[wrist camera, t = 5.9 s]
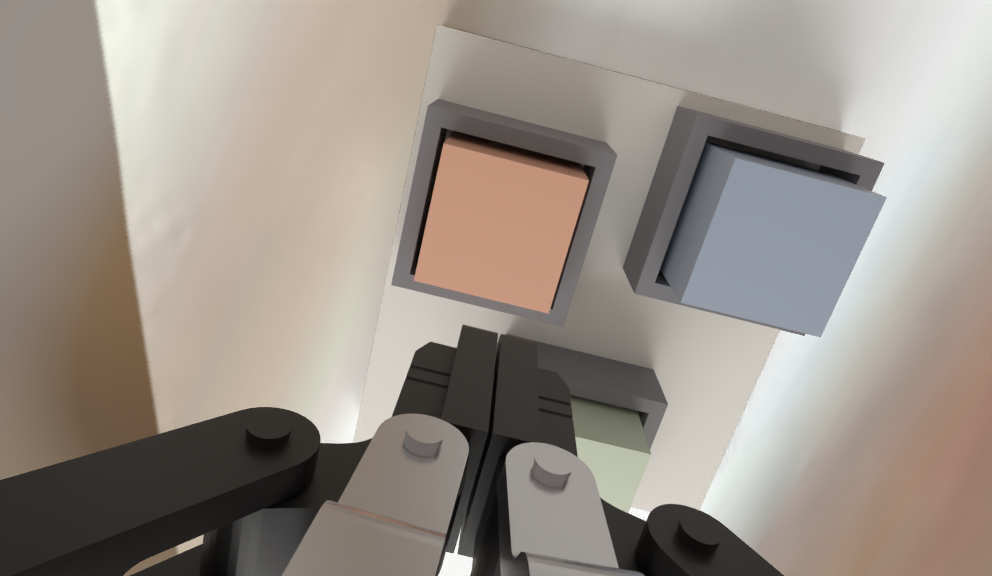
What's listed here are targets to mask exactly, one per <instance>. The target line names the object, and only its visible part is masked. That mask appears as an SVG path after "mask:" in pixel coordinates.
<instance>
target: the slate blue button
mask: <svg viewBox="0 0 992 576" xmlns="http://www.w3.org/2000/svg"><path fill="white" fill-rule="evenodd" d="M886 198H887V197H884V196H882V195H879V194H877V193H875V192H872V191H870V190H867V189H865V188H863V187H860V186H858V185H856V184H853V183H851V182H848V181H846V180H844V179H841V178H839V177H836V176H834V175H832V174H829V173H825V172H821V171H817V170H814V169H810V168H806V167H802V166H798V165H795V164H791V163H787V162H783V161H779V160H776V159H772V158H768V157H764V156H760V155H757V154H753V153H749V152H745V151H741V150H738V149H734V148H730V147H726V146H722V145H718V144H715V143H711V142H707V141H706V142H705V145H704V148H703V151H702V153H701V156H700V159H699V162H698V164H697V167H696V170H695V173H694V176H693V178H692V181H691V184H690V187H689V189H688V192H687V195H686V198H685V201H684V203H683V206H682V209H681V212H680V214H679V217H678V220H677V223H676V226H675V228H674V231H673V234H672V237H671V239H670V242H669V245H668V248H667V251H666V253H665V256H664V259H663V262H662V264H661V267H660V270H661V272H662V273H663V275H664V277H665V278H666V280H667V281H668V283H669V285H670V286H671V288H672V289H673V291H674V293H675V294H676V296H677V297H678V299H679V301H680V302H681V303H684V304H688V305H692V306H696V307H701V308H705V309H709V310H713V311H717V312H721V313H725V314H729V315H733V316H737V317H741V318H745V319H749V320H753V321H757V322H761V323H765V324H769V325H773V326H777V327H781V328H785V329H789V330H793V331H797V332H801V333H805V334H810V335H814V336H818V337H821V335H822V333H823V331H824V329H825V327H826V324H827V322H828V320H829V318H830V316H831V314H832V312H833V310H834V308H835V305H836V303H837V301H838V299H839V297H840V295H841V293H842V291H843V289H844V286H845V284H846V282H847V280H848V278H849V276H850V274H851V272H852V270H853V267H854V265H855V263H856V261H857V259H858V257H859V255H860V253H861V251H862V248H863V246H864V244H865V242H866V240H867V238H868V236H869V234H870V231H871V229H872V227H873V225H874V223H875V221H876V219H877V217H878V215H879V212H880V210H881V208H882V206H883V204H884V202H885V200H886Z"/></svg>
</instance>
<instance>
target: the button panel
mask: <svg viewBox="0 0 992 576" xmlns="http://www.w3.org/2000/svg"><path fill="white" fill-rule="evenodd" d="M453 131H457V132H461V133H465V134H469V135H473V136H477V137H480V138H484V139H488V140H492V141H496V142H500V143H504V144H508V145H511V146H515V147H519V148H523V149H527V150H531V151H535V152H539V153H543V154H546V155H550V156H554V157H558V158H562V159H566V160H570V161H574V162H577V163H580V164H581V166H582V168H583V170H584V172H585V174H586V176H587V178H588V180H589V182H588V185H587V189H586V192H585V195H584V199H583V202H582V205H581V209H580V212H579V215H578V218H577V222H576V225H575V228H574V232H573V235H572V238H571V242H570V245H569V248H568V252H567V255H566V258H565V261H564V265H563V268H562V271H561V275H560V278H559V281H558V285H557V288H556V291H555V294H554V298H553V301H552V304H551V308H550V311H549V314H548V313H544V312H540V311H536V310H532V309H527V308H523V307H519V306H515V305H511V304H507V303H503V302H499V301H495V300H491V299H486V298H482V297H478V296H474V295H470V294H466V293H462V292H458V291H454V290H450V289H445V288H441V287H437V286H433V285H429V284H425V283H421V282H417V281H414V277H415V273H416V268H417V264H418V259H419V254H420V250H421V245H422V240H423V236H424V231H425V227H426V222H427V217H428V213H429V208H430V204H431V199H432V194H433V190H434V185H435V181H436V176H437V171H438V167H439V162H440V158H441V153H442V148H443V144H444V142H445V141H446V139H447V138H448V137H449V136H450V134H451V133H452V132H453ZM864 140H865V138H861V137H858V136H854V135H850V134H847V133H843V132H839V131H836V130H832V129H828V128H824V127H821V126H817V125H813V124H809V123H806V122H802V121H798V120H794V119H791V118H787V117H783V116H779V115H776V114H772V113H768V112H764V111H761V110H757V109H753V108H749V107H746V106H742V105H738V104H734V103H731V102H727V101H723V100H719V99H716V98H712V97H708V96H704V95H701V94H697V93H693V92H689V91H685V90H682V89H678V88H674V87H670V86H667V85H663V84H659V83H655V82H652V81H648V80H644V79H640V78H637V77H633V76H629V75H625V74H622V73H618V72H614V71H610V70H607V69H603V68H599V67H595V66H592V65H588V64H584V63H580V62H577V61H573V60H569V59H565V58H562V57H558V56H554V55H550V54H547V53H543V52H539V51H535V50H532V49H528V48H524V47H520V46H517V45H513V44H509V43H505V42H502V41H498V40H494V39H490V38H487V37H483V36H479V35H475V34H472V33H468V32H464V31H460V30H457V29H453V28H449V27H445V26H441V25H437V27H436V32H435V37H434V42H433V47H432V52H431V57H430V62H429V67H428V72H427V77H426V82H425V87H424V92H423V97H422V102H421V107H420V112H419V117H418V122H417V127H416V132H415V137H414V142H413V147H412V152H411V157H410V162H409V167H408V172H407V177H406V181H405V186H404V191H403V196H402V201H401V206H400V211H399V216H398V221H397V226H396V231H395V236H394V241H393V246H392V251H391V256H390V261H389V266H388V271H387V276H386V281H385V286H384V291H383V296H382V301H381V306H380V311H379V316H378V321H377V326H376V331H375V336H374V341H373V346H372V351H371V356H370V361H369V366H368V371H367V376H366V381H365V386H364V391H363V396H362V401H361V406H360V411H359V416H358V421H357V426H356V431H355V436H354V441H353V443H356V442H361V441H365V440H368V439H371V438H373V436H374V434H375V433H376V431H377V429H378V427H379V426H380V425H381V423H383V422H384V421H385V420H387V419H389V418H391V417H392V414H393V411H394V409H395V406H396V403H397V400H398V398H399V395H400V392H401V389H402V387H403V384H404V381H405V379H406V376H407V373H408V370H409V367H410V365H411V362H412V359H413V356H414V354H415V351H416V350H418V349H419V348H421V347H423V346H424V345H426V344H427V343H429V342H434V343H439V344H443V345H447V346H451V347H455V348H457V344H458V340H459V336H460V332H461V328H462V325H467V326H471V327H475V328H480V329H484V330H488V331H492V332H496V333H498V339H499V337H500V334H504V335H508V336H512V337H517V338H521V339H525V340H529V341H533V342H536V343H537V363H538V368H541V369H545V370H549V371H554V372H557V373H558V374H559V375H560V377H561V378H562V379H563V381H564V382H565V383H566V385H567V386H568V387H569V390H570V395H573V396H577V397H581V398H586V399H590V400H594V401H598V402H603V403H607V404H611V405H615V406H619V407H624V408H628V409H632V410H636V411H637V412H638V415H639V418H640V421H641V424H642V427H643V430H644V433H645V436H646V440H647V443H648V446H649V449H650V452H651V456H650V459H649V461H648V464H647V466H646V469H645V471H644V474H643V476H642V479H641V481H640V484H639V487H638V489H637V492H636V494H635V497H634V499H633V502H632V504H631V507H633V508H637V509H642V510H646V511H650V512H651V511H652V510H653V509H654V508H656V507H658V506H660V505H664V504H680V505H685V506H688V507H692V508H695V509H697V510H700V508H701V505H702V503H703V501H704V499H705V496H706V494H707V492H708V490H709V487H710V485H711V483H712V481H713V478H714V476H715V474H716V472H717V470H718V467H719V465H720V463H721V461H722V458H723V456H724V454H725V452H726V449H727V447H728V445H729V443H730V440H731V438H732V436H733V434H734V431H735V429H736V427H737V425H738V422H739V420H740V418H741V416H742V414H743V411H744V409H745V407H746V405H747V402H748V400H749V398H750V396H751V393H752V391H753V389H754V387H755V384H756V382H757V380H758V378H759V375H760V373H761V371H762V369H763V366H764V364H765V362H766V360H767V357H768V355H769V353H770V351H771V349H772V346H773V344H774V342H775V340H776V337H777V335H778V333H779V331H780V330H783V331H787V332H791V333H795V334H799V335H803V336H805V333H801V332H797V331H793V330H789V329H785V328H781V327H777V326H773V325H769V324H765V323H761V322H757V321H753V320H749V319H745V318H741V317H737V316H733V315H729V314H725V313H721V312H717V311H713V310H709V309H705V308H701V307H696V306H692V305H688V304H684V303H681V302H680V301H679V299H678V297H677V296H676V294H675V293H674V291H673V289H672V288H671V286H670V285H669V283H668V281H667V280H666V278H665V277H664V275H663V273H662V272H661V270H660V267H661V264H662V262H663V259H664V256H665V253H666V251H667V248H668V245H669V242H670V239H671V237H672V234H673V231H674V228H675V226H676V223H677V220H678V217H679V214H680V212H681V209H682V206H683V203H684V201H685V198H686V195H687V192H688V189H689V187H690V184H691V181H692V178H693V176H694V173H695V170H696V167H697V164H698V162H699V159H700V156H701V153H702V151H703V148H704V145H705V142H706V141H707V142H711V143H715V144H718V145H722V146H726V147H730V148H734V149H738V150H741V151H745V152H749V153H753V154H757V155H760V156H764V157H768V158H772V159H776V160H779V161H783V162H787V163H791V164H795V165H798V166H802V167H806V168H810V169H814V170H817V171H821V172H825V173H829V174H832V175H834V176H836V177H839V178H841V179H844V180H846V181H848V182H851V183H853V184H856V185H858V186H860V187H863V188H865V189H867V190H870V191H872V189H873V187H874V185H875V182H876V180H877V178H878V176H879V174H880V172H881V170H882V167H883V165H884V163H883V162H880V161H876V160H873V159H870V158H867V157H864V156H861V155H858V154H859V151H860V149H861V147H862V145H863V142H864ZM497 343H498V340H497Z"/></svg>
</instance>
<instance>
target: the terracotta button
mask: <svg viewBox="0 0 992 576" xmlns="http://www.w3.org/2000/svg"><path fill="white" fill-rule="evenodd" d="M588 182H589V180H588V178H587V176H586V174H585V172H584V170H583V168H582V166H581V164H580V163H577V162H574V161H570V160H566V159H562V158H558V157H554V156H550V155H546V154H543V153H539V152H535V151H531V150H527V149H523V148H519V147H515V146H511V145H508V144H504V143H500V142H496V141H492V140H488V139H484V138H480V137H477V136H473V135H469V134H465V133H461V132H457V131H453V132H452V133H451V134H450V136H449V137H448V138H447V139H446V141H445V142H444V144H443V148H442V153H441V158H440V162H439V167H438V171H437V176H436V181H435V185H434V190H433V194H432V199H431V204H430V208H429V213H428V217H427V222H426V227H425V231H424V236H423V240H422V245H421V250H420V254H419V259H418V264H417V268H416V273H415V277H414V281H417V282H421V283H425V284H429V285H433V286H437V287H441V288H445V289H450V290H454V291H458V292H462V293H466V294H470V295H474V296H478V297H482V298H486V299H491V300H495V301H499V302H503V303H507V304H511V305H515V306H519V307H523V308H527V309H532V310H536V311H540V312H544V313H548V314H549V311H550V308H551V304H552V301H553V298H554V294H555V291H556V288H557V285H558V281H559V278H560V275H561V271H562V268H563V265H564V261H565V258H566V255H567V252H568V248H569V245H570V242H571V238H572V235H573V232H574V228H575V225H576V222H577V218H578V215H579V212H580V209H581V205H582V202H583V199H584V195H585V192H586V189H587V185H588Z"/></svg>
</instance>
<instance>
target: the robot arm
mask: <svg viewBox="0 0 992 576" xmlns="http://www.w3.org/2000/svg"><path fill="white" fill-rule="evenodd" d="M497 340H498V343H497ZM572 417H573V414H572V407H571V398H570V390H569V387H568V386H567V385H566V383H565V382H564V381H563V379H562V378H561V377H560V375H559V374H558V373H557V372H554V371H549V370H545V369H541V368H538V363H537V343H536V342H533V341H529V340H525V339H521V338H517V337H512V336H508V335H504V334H500V337H499V339H498V333H496V332H492V331H488V330H484V329H480V328H475V327H471V326H467V325H462V328H461V332H460V336H459V340H458V344H457V348H455V347H451V346H447V345H443V344H439V343H434V342H429V343H427V344H426V345H424V346H423V347H421V348H419V349H418V350H416V351H415V354H414V356H413V359H412V362H411V365H410V367H409V370H408V373H407V376H406V379H405V381H404V384H403V387H402V389H401V392H400V395H399V398H398V400H397V403H396V406H395V409H394V411H393V414H392V417H391V418H389V419H387V420H385V421H384V422H383V423H381V425H380V426H379V427H378V429H377V431H376V433H375V434H374V436H373V438H371V439H368V440H365V441H361V442H356V443H346V444H331V443H320V434H319V431H318V429H317V428H316V426H315V425H314V424H313V423H312V422H311V421H310V420H308V419H307V418H306V417H304V416H302V415H300V414H298V413H295V412H293V411H289V410H285V409H280V408H272V407H257V408H249V409H245V410H241V411H237V412H234V413H230V414H227V415H223V416H220V417H216V418H213V419H210V420H206V421H203V422H199V423H196V424H192V425H189V426H185V427H182V428H179V429H175V430H172V431H168V432H165V433H161V434H158V435H155V436H151V437H148V438H144V439H141V440H137V441H134V442H130V443H127V444H124V445H120V446H117V447H114V448H110V449H106V450H103V451H99V452H96V453H92V454H89V455H86V456H82V457H79V458H75V459H72V460H68V461H65V462H61V463H58V464H55V465H51V466H48V467H44V468H41V469H37V470H34V471H30V472H27V473H24V474H20V475H17V476H14V477H10V478H6V479H3V480H0V576H123V575H124V574H125V573H126V572H127V571H128V570H129V569H131V568H132V567H133V566H135V565H136V564H138V563H139V562H141V561H143V560H145V559H147V558H149V557H151V556H154V555H156V554H158V553H161V552H163V551H165V550H168V549H170V548H172V547H175V546H177V545H180V544H182V543H184V542H187V541H189V540H191V539H194V538H196V537H198V536H201V535H203V534H204V538H203V544H201V545H199V546H197V547H194V548H192V549H190V550H187V551H185V552H183V553H181V554H178V555H176V556H174V557H172V558H169V559H167V560H165V561H162V562H160V563H158V564H155V565H153V566H151V567H149V568H146V569H144V570H142V571H140V572H137V573H135V574H133V575H131V576H438V574H439V572H440V570H441V567H442V563H443V559H444V556H445V552H450V553H454V550H455V546H456V543H457V539H458V536H459V532H460V529H461V533H460V540H459V548H458V554H460V555H464V556H468V557H473V564H472V571H471V574H470V576H784V575H782V574H781V573H780V572H779V571H778V570H777V569H775V568H774V567H773V566H772V565H771V564H769V563H768V562H767V561H766V560H765V559H763V558H762V557H761V556H760V555H759V554H758V553H756V552H755V551H754V550H753V549H752V548H750V547H749V546H748V545H747V544H746V543H744V542H743V541H742V540H741V539H740V538H739V537H737V536H736V535H735V534H734V533H733V532H731V531H730V530H729V529H728V528H727V527H726V526H724V525H723V524H722V523H720V522H719V521H718V520H716V519H715V518H713V517H711V516H710V515H708V514H706V513H704V512H702V511H700V510H697V509H695V508H692V507H688V506H685V505H680V504H664V505H660V506H658V507H656V508H654V509H653V510H652V511H651V512H650V514H649V516H648V519H647V521H644V520H642V519H639V518H637V517H635V516H633V515H631V514H629V513H627V512H624V511H622V510H620V509H618V508H616V507H614V506H612V505H611V504H609V503H608V502H606V501H605V500H603V499H602V498H601V497H600V495H599V492H598V488H597V484H596V480H595V477H594V475H593V473H592V472H591V470H590V469H589V467H588V466H587V465H586V464H585V463H584V462H583V461H582V460H581V459H579V458H578V455H577V447H576V439H575V431H574V423H573V419H572Z"/></svg>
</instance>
